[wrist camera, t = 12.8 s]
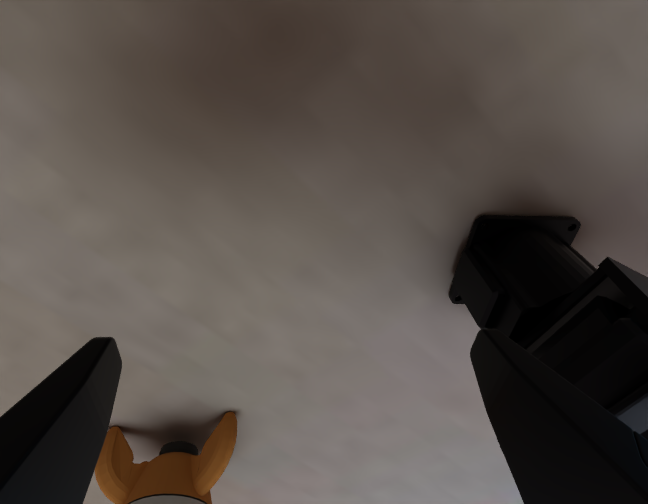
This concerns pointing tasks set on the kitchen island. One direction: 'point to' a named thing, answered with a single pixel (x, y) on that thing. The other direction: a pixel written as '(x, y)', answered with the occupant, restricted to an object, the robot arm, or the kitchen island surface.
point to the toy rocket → (165, 468)
